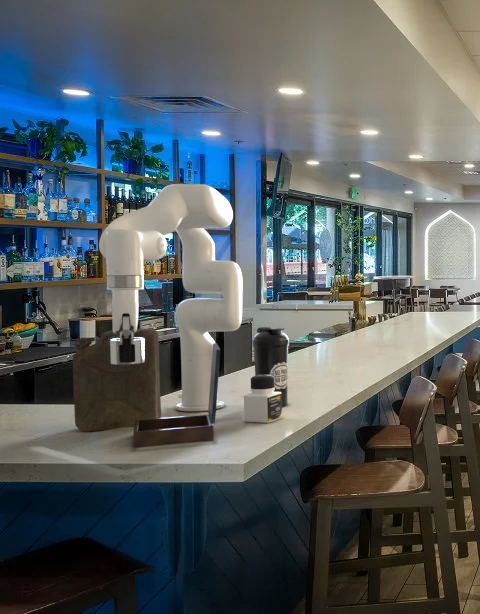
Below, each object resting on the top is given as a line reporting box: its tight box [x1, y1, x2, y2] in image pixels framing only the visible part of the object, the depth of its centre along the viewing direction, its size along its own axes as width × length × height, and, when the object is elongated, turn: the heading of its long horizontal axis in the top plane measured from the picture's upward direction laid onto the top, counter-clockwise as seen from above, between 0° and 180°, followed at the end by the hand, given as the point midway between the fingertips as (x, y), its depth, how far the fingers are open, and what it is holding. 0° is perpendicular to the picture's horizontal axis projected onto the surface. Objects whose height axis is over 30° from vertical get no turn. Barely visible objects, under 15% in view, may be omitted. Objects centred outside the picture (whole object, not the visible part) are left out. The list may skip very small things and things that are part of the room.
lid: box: [207, 342, 221, 425], centre depth 190 cm, size 17×15×1 cm
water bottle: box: [251, 326, 290, 408], centre depth 230 cm, size 10×10×23 cm
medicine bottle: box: [243, 375, 283, 424], centre depth 211 cm, size 7×7×12 cm
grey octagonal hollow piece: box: [109, 337, 145, 365], centre depth 182 cm, size 7×7×6 cm
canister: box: [72, 327, 162, 433], centre depth 200 cm, size 19×8×25 cm, turn 106°
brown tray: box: [132, 414, 214, 449], centre depth 187 cm, size 17×15×4 cm
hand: (127, 359), depth 182 cm, fingers closed on grey octagonal hollow piece, 7 cm apart
